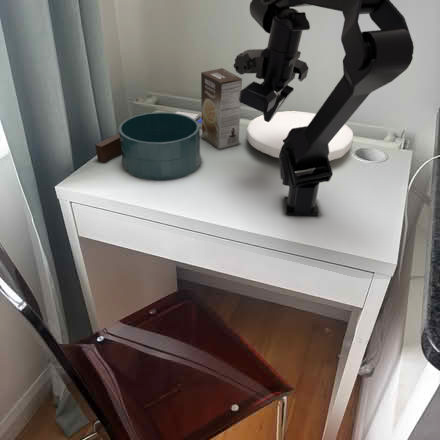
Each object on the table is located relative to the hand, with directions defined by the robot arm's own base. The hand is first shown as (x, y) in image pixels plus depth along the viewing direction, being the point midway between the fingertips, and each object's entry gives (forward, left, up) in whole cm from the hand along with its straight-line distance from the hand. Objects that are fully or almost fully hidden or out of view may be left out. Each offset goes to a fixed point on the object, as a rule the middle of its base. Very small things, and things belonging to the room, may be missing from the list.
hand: (267, 120), depth 97 cm
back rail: (+9, +34, -12) cm, 37 cm away
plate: (+15, -9, -12) cm, 21 cm away
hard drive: (+30, +12, -12) cm, 34 cm away
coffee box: (+17, +11, -12) cm, 23 cm away
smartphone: (+27, +23, -12) cm, 37 cm away
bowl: (+3, +24, -12) cm, 27 cm away
